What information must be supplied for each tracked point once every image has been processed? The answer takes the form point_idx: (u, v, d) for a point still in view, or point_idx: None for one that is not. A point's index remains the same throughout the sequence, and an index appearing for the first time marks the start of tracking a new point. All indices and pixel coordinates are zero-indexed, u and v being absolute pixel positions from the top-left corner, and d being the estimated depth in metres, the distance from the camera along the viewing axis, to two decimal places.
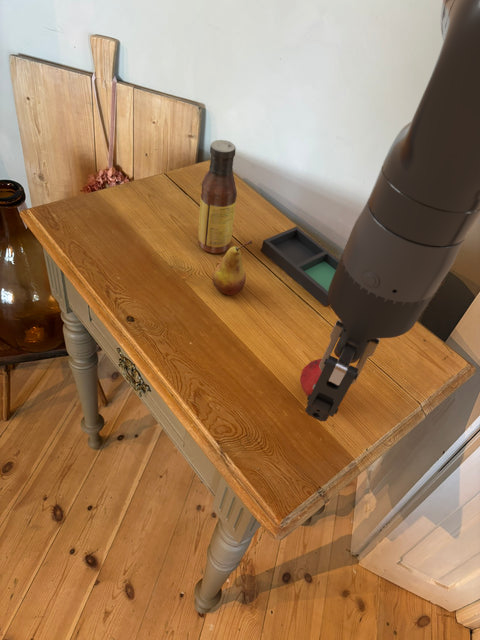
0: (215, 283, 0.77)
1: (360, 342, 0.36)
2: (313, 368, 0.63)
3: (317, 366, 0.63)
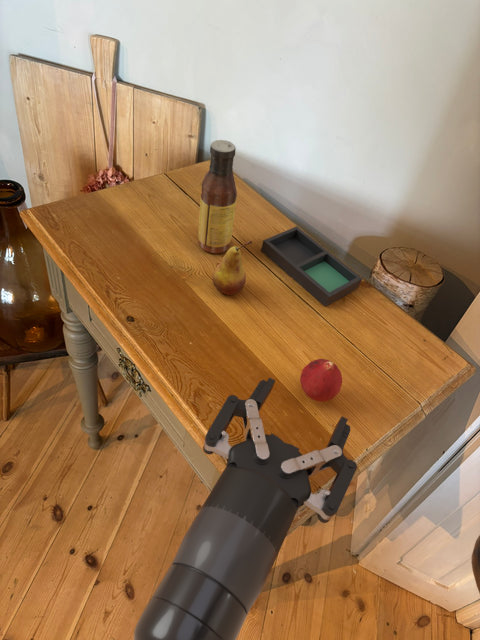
0: (215, 283, 0.77)
1: (300, 505, 0.41)
2: (313, 368, 0.63)
3: (317, 366, 0.63)
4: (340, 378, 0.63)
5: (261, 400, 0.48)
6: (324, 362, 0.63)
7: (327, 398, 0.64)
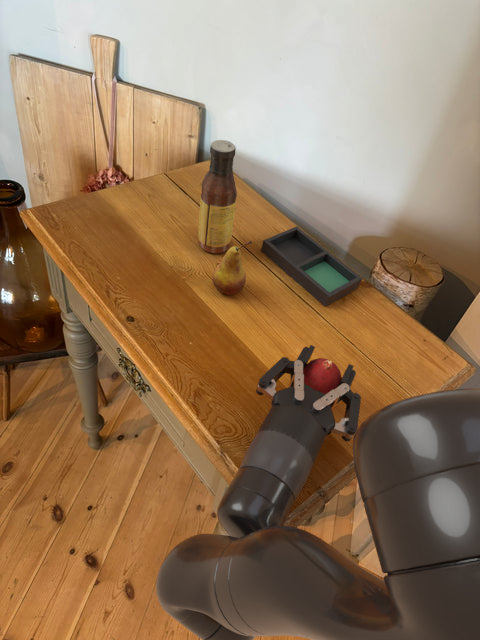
0: (215, 283, 0.77)
1: (327, 433, 0.56)
2: (312, 367, 0.63)
3: (316, 365, 0.63)
4: (339, 377, 0.63)
5: (306, 361, 0.63)
6: (323, 361, 0.63)
7: None
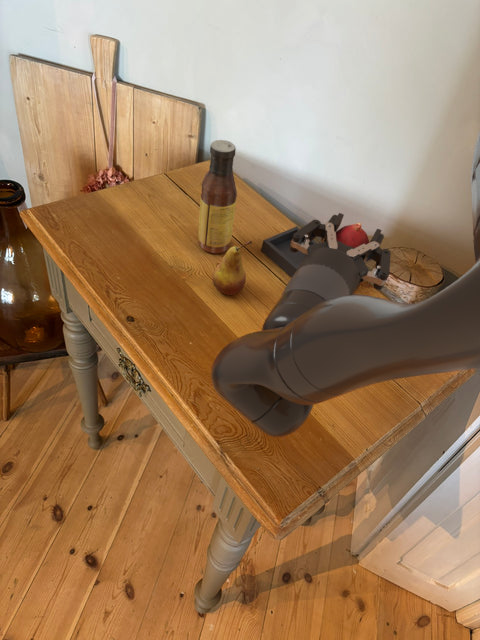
0: (215, 283, 0.77)
1: (361, 277, 0.59)
2: (342, 231, 0.66)
3: (345, 228, 0.66)
4: (368, 241, 0.66)
5: (336, 224, 0.65)
6: (353, 224, 0.65)
7: None
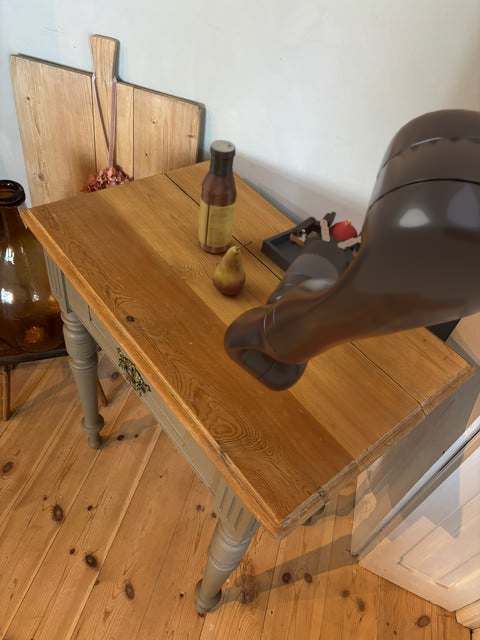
0: (215, 283, 0.77)
1: (349, 266, 0.69)
2: (335, 227, 0.76)
3: (337, 224, 0.76)
4: (356, 236, 0.76)
5: (329, 220, 0.76)
6: (343, 221, 0.76)
7: None
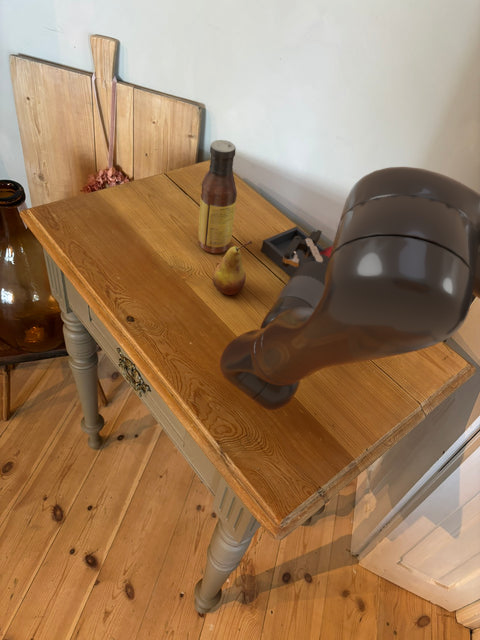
0: (215, 283, 0.77)
1: None
2: (326, 251, 0.80)
3: (329, 249, 0.80)
4: None
5: (314, 239, 0.79)
6: None
7: None
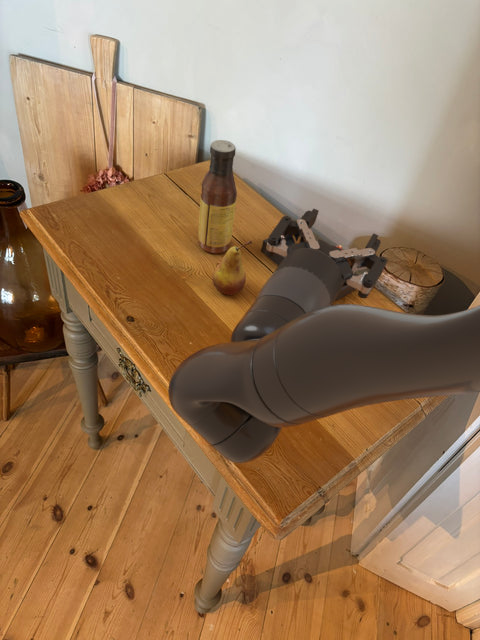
0: (215, 283, 0.77)
1: (344, 281, 0.54)
2: None
3: None
4: None
5: (309, 220, 0.60)
6: None
7: None
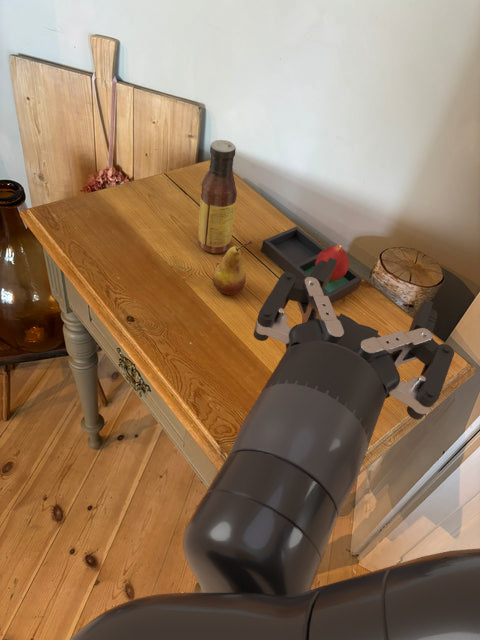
0: (215, 283, 0.77)
1: (387, 393, 0.32)
2: (326, 251, 0.80)
3: (329, 249, 0.80)
4: (347, 260, 0.80)
5: (323, 279, 0.38)
6: (335, 246, 0.79)
7: (337, 276, 0.80)
